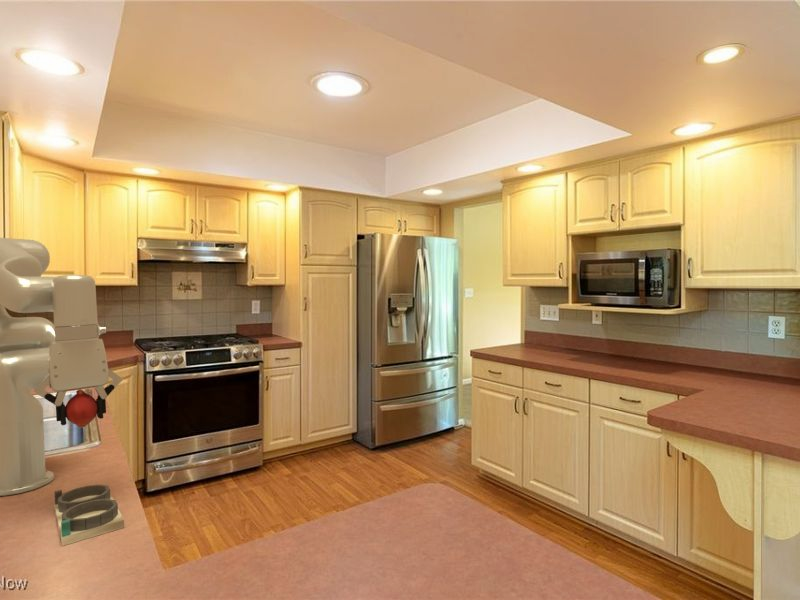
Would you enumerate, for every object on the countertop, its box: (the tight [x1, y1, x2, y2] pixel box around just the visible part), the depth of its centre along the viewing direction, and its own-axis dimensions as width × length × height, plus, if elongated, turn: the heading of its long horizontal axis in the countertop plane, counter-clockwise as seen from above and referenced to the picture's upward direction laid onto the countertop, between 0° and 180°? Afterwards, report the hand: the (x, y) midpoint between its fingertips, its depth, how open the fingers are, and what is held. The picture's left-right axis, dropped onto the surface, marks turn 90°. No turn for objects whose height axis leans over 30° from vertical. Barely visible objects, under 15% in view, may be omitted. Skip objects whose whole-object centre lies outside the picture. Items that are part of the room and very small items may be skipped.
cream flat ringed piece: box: [53, 484, 125, 547], centre depth 94 cm, size 18×10×4 cm, turn 39°
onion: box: [65, 389, 98, 429], centre depth 99 cm, size 6×6×8 cm
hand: (82, 419), depth 99 cm, fingers closed on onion, 5 cm apart
